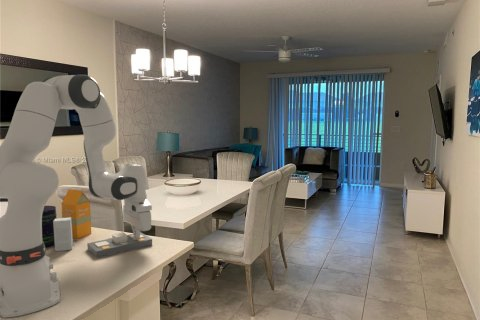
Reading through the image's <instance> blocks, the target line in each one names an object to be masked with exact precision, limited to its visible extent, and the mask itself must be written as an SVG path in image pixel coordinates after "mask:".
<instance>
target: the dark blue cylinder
mask: <svg viewBox="0 0 480 320" xmlns="http://www.w3.org/2000/svg"><path fill="white" fill-rule="evenodd" d="M55 219H57V207H56V206H55V205H45V207H44V210H43V214H42V241H44V245H45V249H49V248H53V247H55V241H54V226H53V221H54V220H55Z"/></svg>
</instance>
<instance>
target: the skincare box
mask: <svg viewBox="0 0 480 320" xmlns="http://www.w3.org/2000/svg"><path fill="white" fill-rule="evenodd" d="M56 218H57V217H56ZM53 226H54V241H55V246H54V251H55V252H60V251H69V250H72V249H73V247H74V241H73V240H74V238H72V223H71V217H69V218H62V217H59V218H57V219H55V220H54V221H53Z"/></svg>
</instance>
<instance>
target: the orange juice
mask: <svg viewBox="0 0 480 320" xmlns="http://www.w3.org/2000/svg"><path fill="white" fill-rule="evenodd" d="M69 217H71V223H72V238H73V239H80V238H83V237H86V236H89V235H92V214H91V201H90V200H89V199H88V197H87V196H86V194H85V192H84V191H83V190H77V189H68V190H67V191H66V194H65V195H64V198H63V200H62V202H61V218H69Z"/></svg>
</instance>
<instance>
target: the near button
mask: <svg viewBox="0 0 480 320" xmlns="http://www.w3.org/2000/svg"><path fill="white" fill-rule="evenodd" d="M94 245H95V246H96V247H97V248H99V247H104V246H109V245H110V244H109V243H108V242H106V241H103V242H98V243H94Z"/></svg>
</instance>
